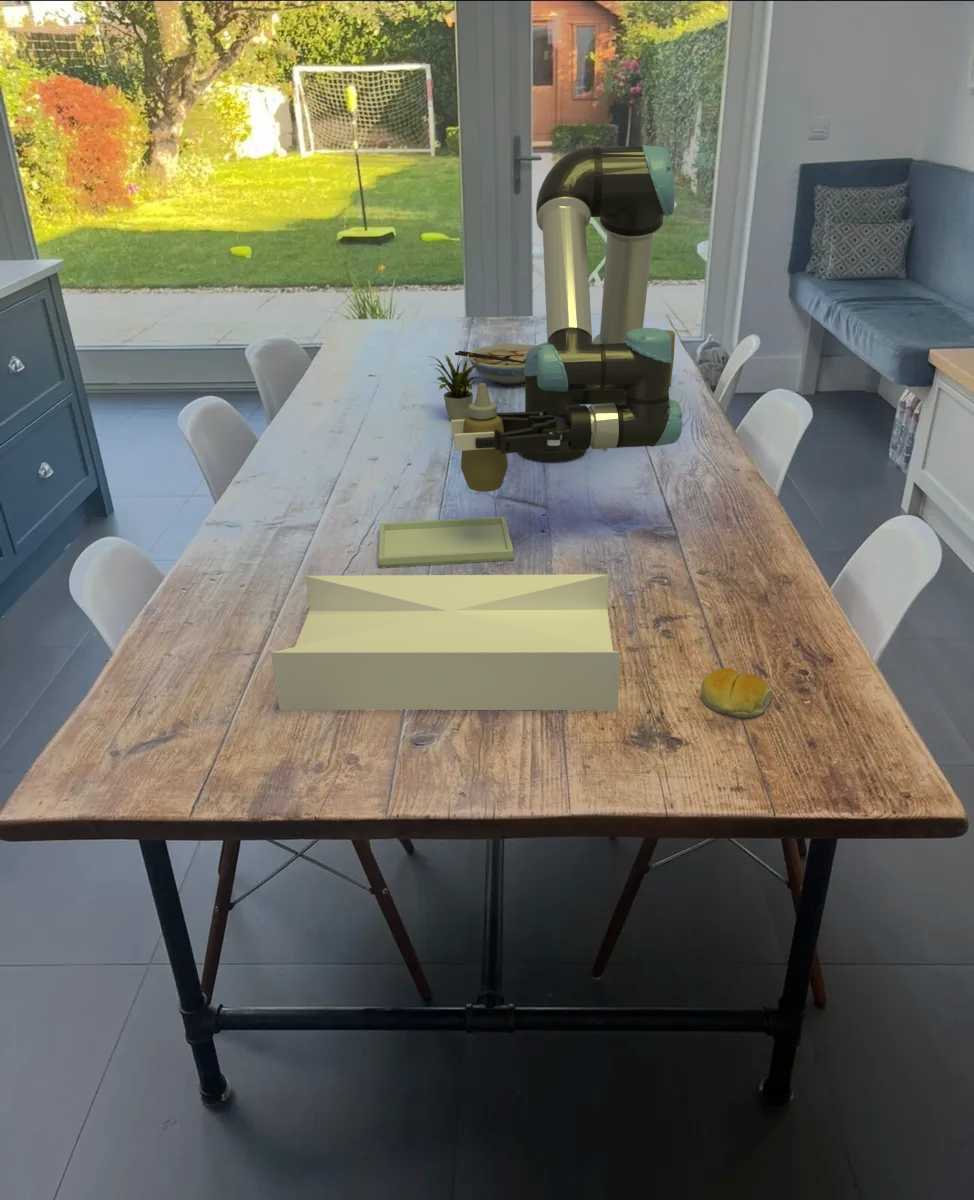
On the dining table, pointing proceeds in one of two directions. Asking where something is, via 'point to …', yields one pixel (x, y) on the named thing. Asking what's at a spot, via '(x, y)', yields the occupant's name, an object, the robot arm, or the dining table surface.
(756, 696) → the bread roll
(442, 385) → the house plant
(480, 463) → the squeeze bottle
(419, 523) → the tray
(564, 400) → the robot arm
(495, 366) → the ramen bowl
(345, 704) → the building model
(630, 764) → the dining table surface
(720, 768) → the dining table surface
